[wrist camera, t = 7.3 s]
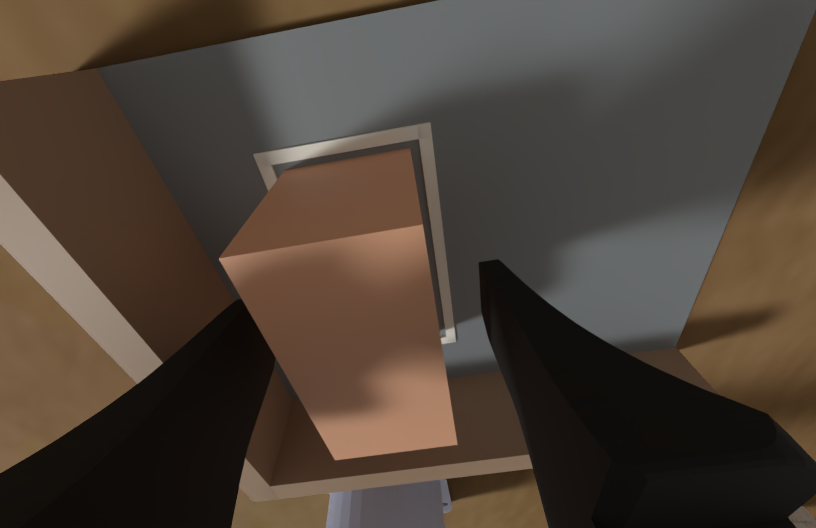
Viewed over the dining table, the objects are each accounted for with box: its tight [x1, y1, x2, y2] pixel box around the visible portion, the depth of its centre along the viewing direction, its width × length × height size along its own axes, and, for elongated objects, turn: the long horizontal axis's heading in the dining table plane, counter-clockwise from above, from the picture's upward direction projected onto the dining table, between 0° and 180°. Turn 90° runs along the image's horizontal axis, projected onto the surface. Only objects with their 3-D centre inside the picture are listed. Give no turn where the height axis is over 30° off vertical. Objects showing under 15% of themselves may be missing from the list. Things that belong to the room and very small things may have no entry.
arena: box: [0, 0, 816, 502], centre depth 12 cm, size 16×20×4 cm
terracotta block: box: [219, 148, 458, 460], centre depth 11 cm, size 8×4×5 cm, turn 9°
